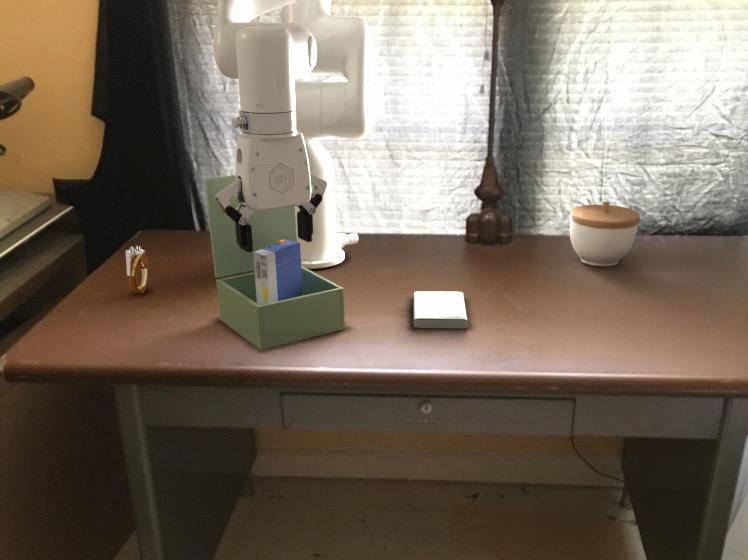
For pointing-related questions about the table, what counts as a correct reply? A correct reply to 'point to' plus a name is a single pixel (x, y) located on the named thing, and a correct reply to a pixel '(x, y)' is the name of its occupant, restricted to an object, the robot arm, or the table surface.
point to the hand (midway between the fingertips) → (276, 244)
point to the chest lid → (223, 231)
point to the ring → (132, 272)
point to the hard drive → (439, 310)
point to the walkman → (278, 272)
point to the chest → (281, 310)
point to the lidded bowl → (603, 233)
